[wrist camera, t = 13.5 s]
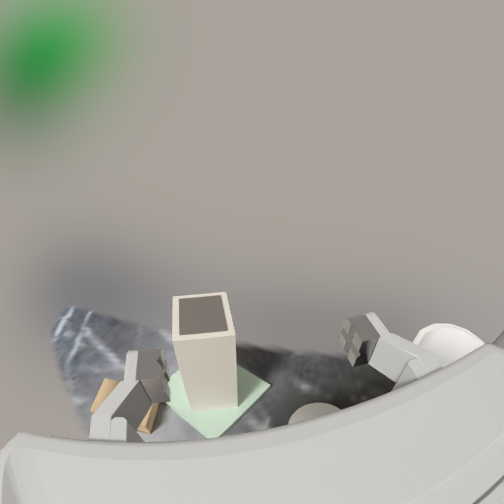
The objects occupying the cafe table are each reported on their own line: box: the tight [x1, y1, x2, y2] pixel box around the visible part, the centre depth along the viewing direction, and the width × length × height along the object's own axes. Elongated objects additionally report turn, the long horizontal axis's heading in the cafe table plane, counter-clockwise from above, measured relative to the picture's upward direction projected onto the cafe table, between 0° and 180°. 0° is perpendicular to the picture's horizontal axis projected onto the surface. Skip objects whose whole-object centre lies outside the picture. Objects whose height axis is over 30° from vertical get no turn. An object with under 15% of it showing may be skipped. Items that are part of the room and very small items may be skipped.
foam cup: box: [413, 324, 484, 368], centre depth 22 cm, size 10×9×13 cm
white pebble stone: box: [288, 403, 340, 424], centre depth 26 cm, size 7×7×1 cm
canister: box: [172, 292, 238, 412], centre depth 28 cm, size 6×5×12 cm
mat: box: [165, 364, 271, 438], centre depth 31 cm, size 10×10×1 cm
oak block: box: [90, 378, 160, 434], centre depth 27 cm, size 7×5×2 cm
